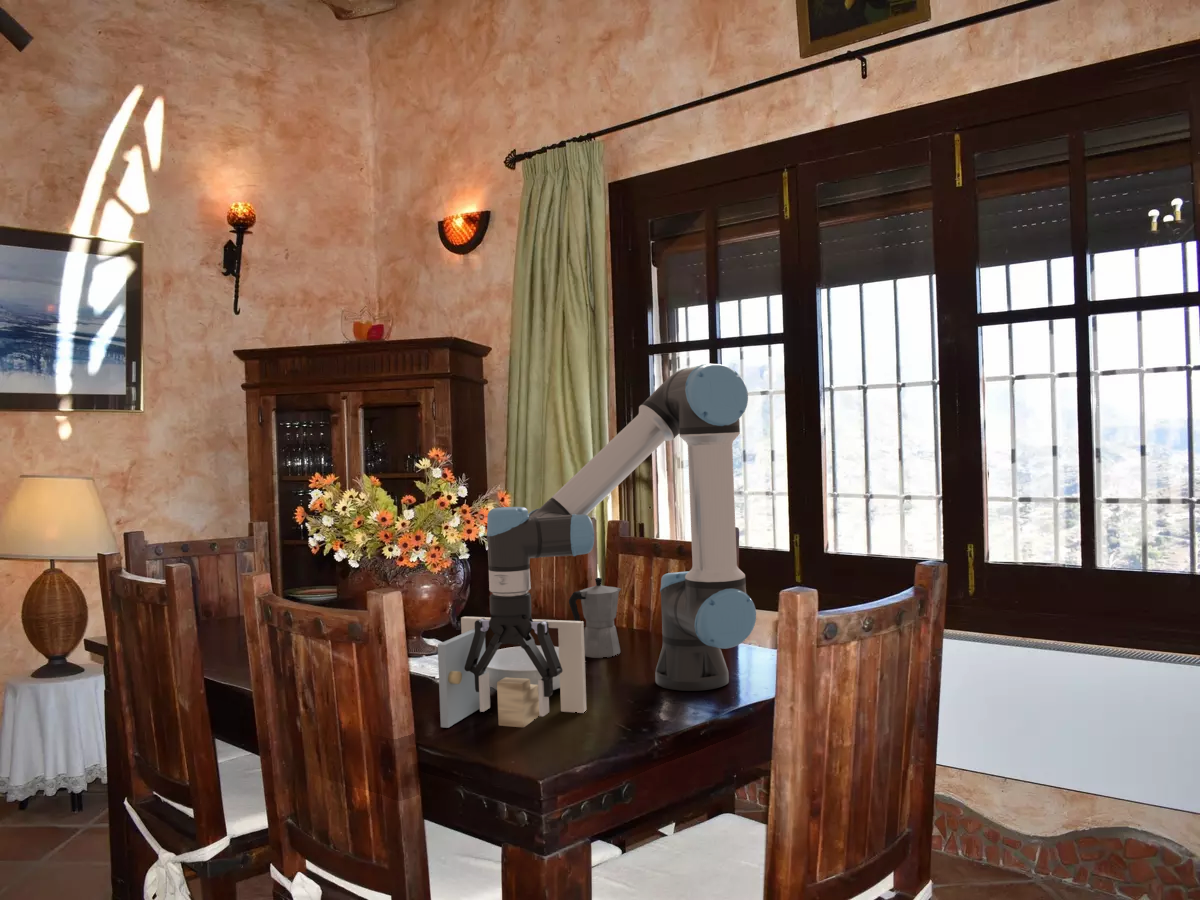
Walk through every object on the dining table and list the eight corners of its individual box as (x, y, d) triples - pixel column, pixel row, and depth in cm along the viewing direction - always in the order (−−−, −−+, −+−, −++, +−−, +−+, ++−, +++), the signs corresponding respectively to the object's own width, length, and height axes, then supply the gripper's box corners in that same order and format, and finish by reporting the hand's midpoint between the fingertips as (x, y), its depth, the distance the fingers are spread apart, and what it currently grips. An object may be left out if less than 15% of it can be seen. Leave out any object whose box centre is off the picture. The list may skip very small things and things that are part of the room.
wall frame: (586, 710, 184) (583, 621, 184) (583, 713, 183) (580, 622, 182) (467, 702, 193) (464, 616, 193) (464, 704, 191) (460, 618, 191)
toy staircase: (521, 710, 186) (519, 668, 186) (545, 712, 185) (544, 670, 185) (498, 726, 177) (496, 682, 177) (523, 727, 175) (522, 683, 175)
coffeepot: (609, 646, 238) (607, 572, 238) (635, 652, 231) (632, 576, 231) (559, 657, 229) (556, 580, 228) (584, 663, 221) (581, 584, 221)
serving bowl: (487, 709, 188) (486, 673, 188) (472, 682, 208) (471, 650, 208) (591, 697, 194) (590, 663, 193) (567, 672, 214) (565, 641, 214)
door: (456, 728, 175) (452, 645, 175) (440, 727, 176) (437, 644, 176) (496, 703, 190) (493, 626, 190) (482, 702, 191) (479, 626, 191)
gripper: (442, 594, 178) (447, 713, 178) (562, 597, 170) (566, 722, 170) (462, 587, 185) (466, 701, 185) (578, 590, 177) (582, 710, 177)
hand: (514, 711), depth 178 cm, fingers open, 11 cm apart
